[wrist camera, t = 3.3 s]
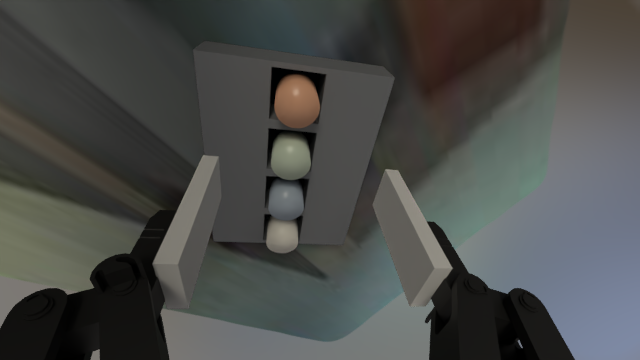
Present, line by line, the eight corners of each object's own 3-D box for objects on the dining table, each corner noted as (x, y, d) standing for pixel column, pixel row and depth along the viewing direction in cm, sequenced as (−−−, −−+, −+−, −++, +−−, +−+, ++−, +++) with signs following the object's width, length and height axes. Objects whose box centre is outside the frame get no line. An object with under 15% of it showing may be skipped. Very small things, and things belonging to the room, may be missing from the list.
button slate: (269, 199, 35) (267, 219, 32) (270, 174, 33) (269, 193, 30) (300, 201, 36) (301, 221, 33) (304, 176, 33) (305, 195, 30)
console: (219, 220, 40) (213, 241, 37) (204, 40, 26) (193, 49, 23) (339, 225, 43) (343, 245, 40) (383, 66, 29) (394, 77, 26)
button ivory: (267, 231, 38) (265, 252, 36) (268, 211, 36) (266, 231, 33) (295, 233, 39) (296, 253, 36) (298, 212, 37) (299, 232, 34)
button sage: (271, 159, 31) (270, 178, 29) (273, 128, 29) (272, 145, 26) (306, 162, 32) (308, 181, 29) (310, 131, 30) (313, 148, 27)
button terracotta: (274, 110, 28) (273, 126, 25) (277, 69, 26) (275, 81, 23) (313, 114, 29) (316, 130, 26) (319, 75, 26) (323, 88, 23)
